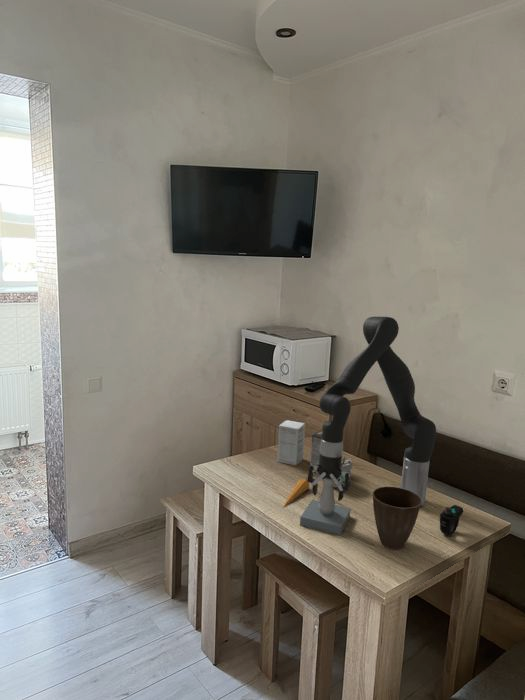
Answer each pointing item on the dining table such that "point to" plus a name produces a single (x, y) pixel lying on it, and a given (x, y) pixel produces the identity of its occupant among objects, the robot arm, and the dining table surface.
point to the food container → (344, 469)
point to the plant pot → (395, 515)
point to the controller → (450, 519)
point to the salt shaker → (327, 497)
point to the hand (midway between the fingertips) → (327, 497)
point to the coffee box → (316, 448)
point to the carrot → (297, 490)
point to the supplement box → (291, 442)
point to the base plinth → (325, 518)
